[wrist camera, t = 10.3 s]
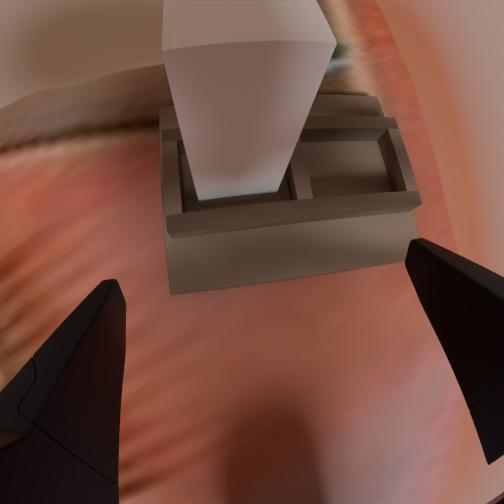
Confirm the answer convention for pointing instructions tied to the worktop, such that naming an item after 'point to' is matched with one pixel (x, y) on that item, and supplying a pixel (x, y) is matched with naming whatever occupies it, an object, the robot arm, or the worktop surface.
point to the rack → (296, 204)
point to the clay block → (243, 88)
